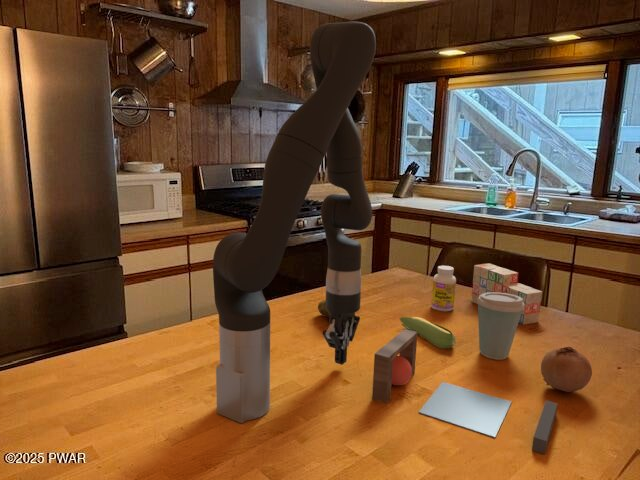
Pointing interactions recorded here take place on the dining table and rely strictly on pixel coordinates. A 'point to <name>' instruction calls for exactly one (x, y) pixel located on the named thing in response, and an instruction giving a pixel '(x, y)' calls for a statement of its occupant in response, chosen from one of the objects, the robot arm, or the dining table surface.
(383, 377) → the bridge
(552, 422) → the wall
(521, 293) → the stack of blocks
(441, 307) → the supplement bottle
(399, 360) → the ball
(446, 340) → the edible corn
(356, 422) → the dining table surface
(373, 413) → the dining table surface
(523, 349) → the dining table surface
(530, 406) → the dining table surface
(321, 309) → the potato
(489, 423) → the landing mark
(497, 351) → the disposable coffee cup
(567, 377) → the onion
